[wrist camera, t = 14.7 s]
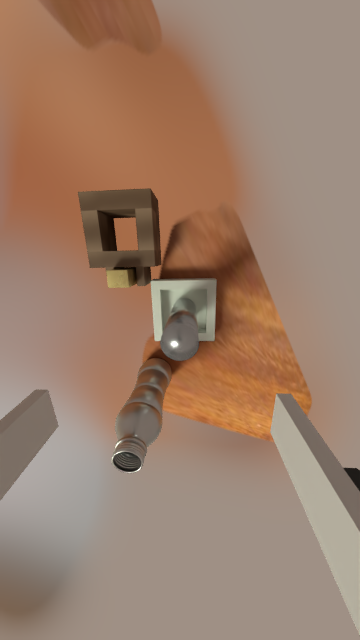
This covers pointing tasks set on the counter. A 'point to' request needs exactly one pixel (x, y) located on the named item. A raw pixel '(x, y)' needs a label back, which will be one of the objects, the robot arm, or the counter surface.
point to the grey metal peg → (181, 331)
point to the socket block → (101, 231)
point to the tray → (193, 289)
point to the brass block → (121, 277)
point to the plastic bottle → (141, 416)
